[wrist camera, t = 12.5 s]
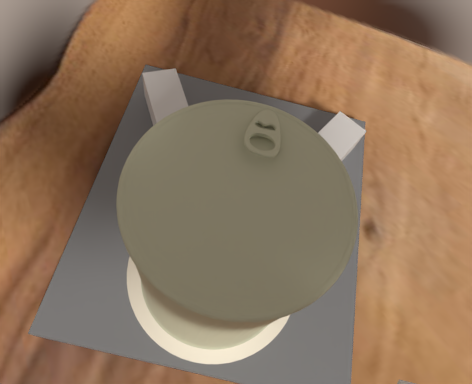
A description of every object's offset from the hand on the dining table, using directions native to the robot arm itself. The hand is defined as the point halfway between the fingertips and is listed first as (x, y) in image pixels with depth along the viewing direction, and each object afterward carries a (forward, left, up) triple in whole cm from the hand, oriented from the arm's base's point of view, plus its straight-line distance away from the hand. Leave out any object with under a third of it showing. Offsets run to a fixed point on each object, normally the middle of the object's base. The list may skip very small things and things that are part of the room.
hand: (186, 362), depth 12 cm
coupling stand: (-1, -11, -13) cm, 17 cm away
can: (-1, -6, -11) cm, 13 cm away
